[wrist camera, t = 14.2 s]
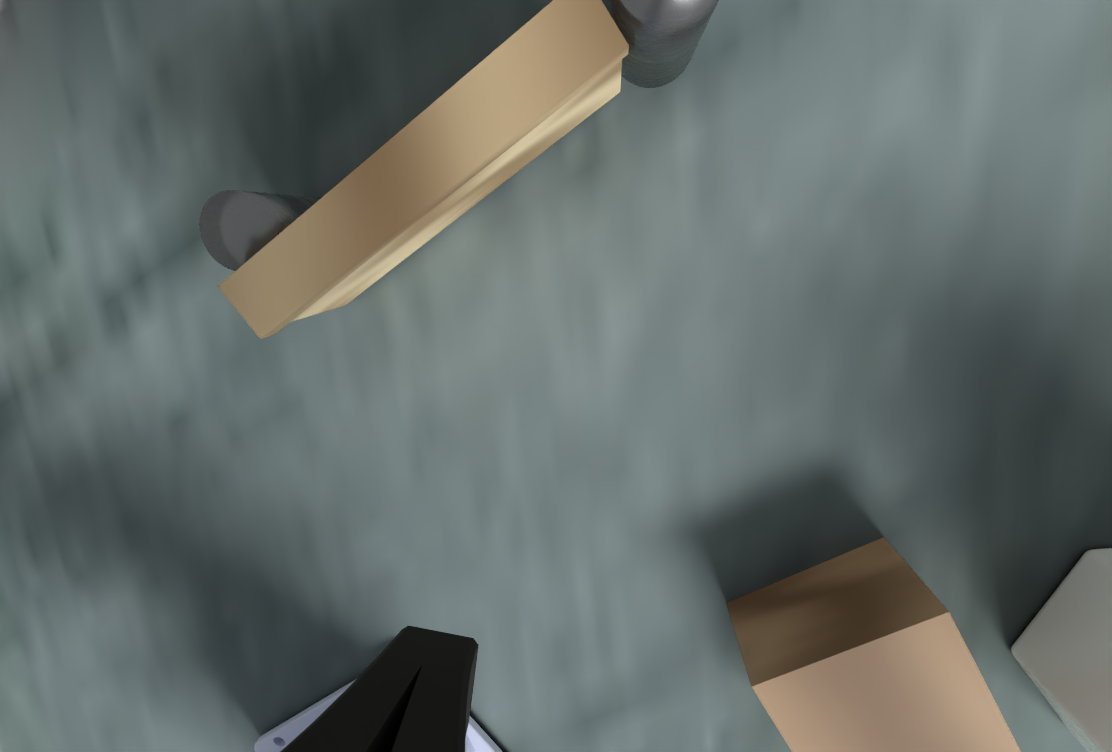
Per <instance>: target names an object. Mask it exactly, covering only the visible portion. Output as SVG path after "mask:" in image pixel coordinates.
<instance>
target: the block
mask: <svg viewBox="0 0 1112 752" xmlns="http://www.w3.org/2000/svg"><path fill="white" fill-rule="evenodd" d="M726 604H727V607H728V610H729V614H730V617H731V620H732V623H733V627H734V630H735V633H736V637H737V640H738V643H739V647H740V650H741V653H742V656H743V660H744V663H745V666H746V670H747V673H748V676H749V680H750V683H751V686H752V688H753V690H754V691H755V693H756V694H757V696H758V698H759V699H760V701H761V703H762V704H763V706H764V707H765V709H766V711H767V712H768V714H769V715H770V717H771V719H772V720H773V722H774V723H775V725H776V727H777V728H778V730H779V731H780V733H781V735H782V736H783V738H784V739H785V741H786V743H787V744H788V746H789V748H790V749H791V751H792V752H1021V751H1020V749H1019V747H1018V745H1017V743H1016V741H1015V739H1014V737H1013V735H1012V733H1011V731H1010V730H1009V728H1008V726H1007V724H1006V722H1005V720H1004V718H1003V716H1002V714H1001V712H1000V710H999V708H998V706H997V704H996V702H995V700H994V698H993V696H992V694H991V693H990V691H989V689H988V687H987V685H986V683H985V681H984V679H983V677H982V675H981V673H980V671H979V669H978V667H977V665H976V663H975V661H974V659H973V657H972V655H971V654H970V652H969V650H968V648H967V646H966V644H965V642H964V640H963V638H962V636H961V634H960V632H959V630H958V628H957V626H956V624H955V622H954V620H953V618H952V617H951V615H950V613H949V611H948V610H947V609H946V608H945V607H944V605H943V604H942V603H941V602H940V601H939V600H938V599H937V597H936V596H935V595H934V594H933V593H932V592H931V590H930V589H929V588H928V587H927V586H926V585H925V584H924V582H923V581H922V580H921V579H920V578H919V577H918V576H917V574H916V573H915V572H914V571H913V570H912V569H911V568H910V566H909V565H908V564H907V563H906V562H905V561H904V559H903V558H902V557H901V556H900V555H899V554H898V553H897V551H896V550H895V549H894V548H893V547H892V546H891V545H890V543H889V542H888V541H887V540H886V539H885V538H884V537H882V538H880V539H878V540H875V541H873V542H871V543H868V544H866V545H863V546H861V547H859V548H856V549H854V550H851V551H849V552H847V553H844V554H842V555H840V556H837V557H835V558H832V559H830V560H828V561H825V562H823V563H821V564H818V565H816V566H813V567H811V568H809V569H806V570H804V571H801V572H799V573H797V574H794V575H792V576H790V577H787V578H785V579H782V580H780V581H778V582H775V583H773V584H770V585H768V586H766V587H763V588H761V589H759V590H756V591H754V592H751V593H749V594H747V595H744V596H742V597H740V598H737V599H735V600H732V601H730V602H728V603H726Z"/></svg>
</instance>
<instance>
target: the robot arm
mask: <svg viewBox="0 0 1112 752" xmlns="http://www.w3.org/2000/svg"><path fill="white" fill-rule="evenodd" d="M477 652H478V644H477V642H476V641H475V640H474V639H473V638H469V637H464V636H459V635H454V634H449V633H444V632H439V631H433V630H428V629H423V628H418V627H413V626H407V627H405V628H404V629H402V630H401V631H400V632H399V634H398V635H397V636H396V637H395V638H394V639H393V641H392V642H391V643H390V644H389V645H388V646H387V647H386V648H385V649H384V651H383V652H382V653H381V654H380V655H379V656H378V657H377V658H376V659H375V660H374V661H373V662H372V664H371V665H370V666H369V667H368V668H367V669H366V670H365V671H364V672H363V673H362V674H361V675H360V676H359V677H358V678H357V679H356V680H354V681H352V682H351V683H349V684H347V685H346V686H344V687H342V688H340V689H339V690H337V691H335V692H334V693H332V694H330V695H329V696H327V697H325V698H324V699H322V700H320V701H319V702H317V703H315V704H314V705H312V706H310V707H309V708H307V709H305V710H304V711H302V712H300V713H299V714H297V715H295V716H294V717H292V718H290V719H289V720H287V721H285V722H284V723H282V724H280V725H279V726H277V727H275V728H274V729H272V730H270V731H268V732H267V733H265V734H263V735H262V736H261V737H260V738H259V739H258V740H257V742H256V743H255V745H254V750H255V752H502V750H501V749H500V748H499V747H498V746H497V745H496V744H495V743H494V742H493V741H492V739H491V738H490V737H489V736H488V735H487V734H486V733H485V732H484V731H483V729H482V728H481V727H480V726H479V725H478V724H477V723H476V722H475V721H474V720H473V718H472V717H471V716H470V709H471V701H472V693H473V685H474V676H475V668H476V660H477Z"/></svg>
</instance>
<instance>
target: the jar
mask: <svg viewBox="0 0 1112 752" xmlns="http://www.w3.org/2000/svg"><path fill="white" fill-rule="evenodd" d="M1011 652H1012V655H1013V656H1014V658H1015V659H1016V660H1017V662H1018V663H1019V664H1020V666H1021V667H1022V668H1023V669H1024V671H1025V672H1026V673H1027V675H1028V676H1029V677H1030V679H1031V680H1032V681H1033V683H1034V684H1035V685H1036V687H1037V688H1038V689H1039V691H1040V692H1041V693H1042V695H1043V696H1044V697H1045V698H1046V700H1047V701H1048V702H1049V704H1050V705H1051V706H1052V708H1053V709H1054V710H1055V712H1056V713H1057V714H1058V716H1059V717H1060V718H1061V720H1062V721H1063V722H1064V724H1065V725H1066V726H1067V728H1068V729H1069V730H1070V731H1071V733H1072V734H1073V735H1074V736H1075V737H1076V738H1077V740H1078V741H1079V742H1080V743H1081V744H1082V745H1083V746H1084V747H1085V748H1086V750H1087V751H1088V752H1112V548H1103V549H1092V550H1088V551H1086V552H1085V553H1084V554H1083V555H1082V557H1081V558H1080V559H1079V561H1078V562H1077V563H1076V564H1075V566H1074V567H1073V568H1072V570H1071V571H1070V572H1069V573H1068V575H1067V576H1066V577H1065V579H1064V580H1063V581H1062V582H1061V584H1060V585H1059V586H1058V588H1057V589H1056V590H1055V591H1054V593H1053V594H1052V595H1051V597H1050V598H1049V599H1048V600H1047V602H1046V603H1045V604H1044V606H1043V607H1042V608H1041V609H1040V611H1039V612H1038V613H1037V615H1036V616H1035V617H1034V618H1033V620H1032V621H1031V622H1030V624H1029V625H1028V626H1027V627H1026V629H1025V630H1024V631H1023V633H1022V634H1021V635H1020V636H1019V638H1018V639H1017V640H1016V642H1015V643H1014V644H1013V645H1012V647H1011Z"/></svg>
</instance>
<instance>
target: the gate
mask: <svg viewBox="0 0 1112 752" xmlns="http://www.w3.org/2000/svg"><path fill="white" fill-rule="evenodd" d="M628 50H629V45H628V43H627V42H626V40H625V38H624V37H623V35H622V33H621V32H620V30H619V28H618V27H617V25H616V23H615V22H614V20H613V19H612V17H611V15H610V14H609V12H608V10H607V9H606V7H605V5H604V4H603V2H602V0H553V1H552V2H551V3H549V4H548V5H547V6H546V7H545V8H543V9H542V10H541V11H540V12H539V13H538V14H536V15H535V16H534V17H533V18H532V19H531V20H529V21H528V22H527V23H526V24H525V25H524V26H522V27H521V28H520V29H519V30H518V31H517V32H515V33H514V34H513V35H512V36H511V37H509V38H508V39H507V40H506V41H505V42H504V43H502V44H501V45H500V46H499V47H498V48H497V49H495V50H494V51H493V52H492V53H491V54H490V55H488V56H487V57H486V58H485V59H484V60H483V61H481V62H480V63H479V64H478V65H477V66H476V67H474V68H473V69H472V70H471V71H470V72H468V73H467V74H466V75H465V76H464V77H463V78H461V79H460V80H459V81H458V82H457V83H456V84H454V85H453V86H452V87H451V88H450V89H449V90H447V91H446V92H445V93H444V94H443V95H442V96H440V97H439V98H438V99H437V100H436V101H434V102H433V103H432V104H431V105H430V106H429V107H427V108H426V109H425V110H424V111H423V112H422V113H420V114H419V115H418V116H417V117H416V118H415V119H413V120H412V121H411V122H410V123H409V124H408V125H406V126H405V127H404V128H403V129H402V130H400V131H399V132H398V133H397V134H396V135H395V136H393V137H392V138H391V139H390V140H389V141H388V142H386V143H385V144H384V145H383V146H382V147H381V148H379V149H378V150H377V151H376V152H375V153H374V154H372V155H371V156H370V157H369V158H368V159H366V160H365V161H364V162H363V163H362V164H361V165H359V166H358V167H357V168H356V169H355V170H354V171H352V172H351V173H350V174H349V175H348V176H347V177H345V178H344V179H343V180H342V181H341V182H340V183H338V184H337V185H336V186H335V187H334V188H332V189H331V190H330V191H329V192H328V193H327V194H325V195H324V196H323V197H322V198H321V199H320V200H318V201H317V202H316V203H315V204H314V205H313V206H311V207H310V208H309V209H308V210H307V211H306V212H304V213H303V214H302V215H301V216H300V217H298V218H297V219H296V220H295V221H294V222H293V223H291V224H290V225H289V226H288V227H287V228H286V229H284V230H283V231H282V232H281V233H280V234H279V235H277V236H276V237H275V238H274V239H273V240H272V241H270V242H269V243H268V244H267V245H266V246H264V247H263V248H262V249H261V250H260V251H259V252H257V253H256V254H255V255H254V256H253V257H252V258H250V259H249V260H248V261H247V262H246V263H245V264H243V265H242V266H241V267H240V268H239V269H238V270H236V271H235V272H234V273H233V274H232V275H231V276H229V277H228V278H227V279H226V280H225V281H223V282H222V283H221V284H220V285H219V286H218V287H219V289H220V290H221V291H222V292H223V293H224V295H225V296H226V297H227V298H228V300H229V301H230V302H231V303H232V305H233V306H234V307H235V308H236V309H237V311H238V312H239V313H240V314H241V316H242V317H243V318H244V319H245V321H246V322H247V323H248V324H249V325H250V327H251V328H252V329H253V330H254V332H255V333H256V334H257V335H258V337H259V338H260V339H262V338H265V337H268V336H271V335H274V334H276V333H277V332H278V331H280V330H281V329H282V328H283V327H285V326H286V325H287V324H288V323H290V322H292V321H295V320H298V319H302V318H305V317H308V316H311V315H315V314H318V313H321V312H325V311H328V310H331V309H335V308H338V307H341V306H344V305H346V304H348V303H349V302H350V301H351V300H353V299H354V298H355V297H357V296H358V295H359V294H360V293H362V292H363V291H364V290H366V289H367V288H368V287H370V286H371V285H372V284H373V283H375V282H376V281H377V280H379V279H380V278H381V277H382V276H384V275H385V274H386V273H388V272H389V271H390V270H391V269H393V268H394V267H395V266H397V265H398V264H399V263H400V262H402V261H403V260H404V259H406V258H407V257H408V256H409V255H411V254H412V253H413V252H415V251H416V250H417V249H418V248H420V247H421V246H422V245H424V244H425V243H426V242H427V241H429V240H430V239H431V238H433V237H434V236H435V235H436V234H438V233H439V232H440V231H442V230H443V229H444V228H445V227H447V226H448V225H449V224H451V223H452V222H453V221H455V220H456V219H457V218H458V217H460V216H461V215H462V214H464V213H465V212H466V211H467V210H469V209H470V208H471V207H473V206H474V205H475V204H476V203H478V202H479V201H480V200H482V199H483V198H484V197H485V196H487V195H488V194H489V193H491V192H492V191H493V190H494V189H496V188H497V187H498V186H500V185H501V184H502V183H503V182H505V181H506V180H507V179H509V178H510V177H511V176H512V175H514V174H515V173H516V172H518V171H519V170H520V169H521V168H523V167H524V166H525V165H527V164H528V163H529V162H531V161H532V160H533V159H534V158H536V157H537V156H538V155H540V154H541V153H542V152H543V151H545V150H546V149H547V148H549V147H550V146H551V145H552V144H554V143H555V142H556V141H558V140H559V139H560V138H561V137H563V136H564V135H565V134H567V133H568V132H569V131H570V130H572V129H573V128H574V127H576V126H577V125H578V124H579V123H581V122H582V121H583V120H585V119H586V118H587V117H588V116H590V115H591V114H592V113H594V112H595V111H596V110H597V109H599V108H600V107H601V106H603V105H604V104H605V103H606V102H608V101H609V100H610V99H612V98H613V97H614V96H616V95H617V94H618V93H619V92H620V87H621V70H622V59H623V58H624V57H625V56H627V55H628Z"/></svg>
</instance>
